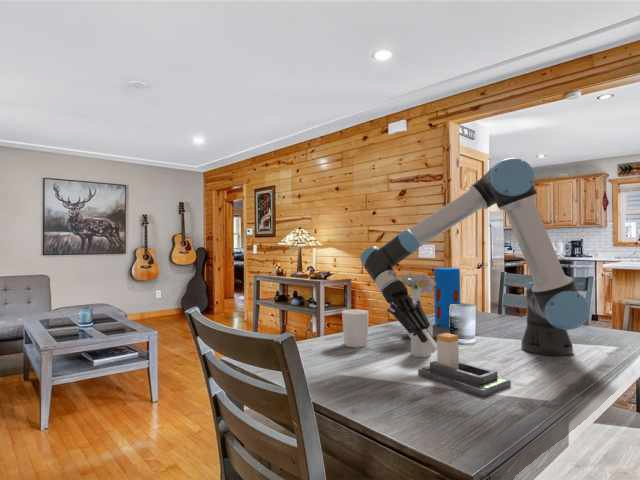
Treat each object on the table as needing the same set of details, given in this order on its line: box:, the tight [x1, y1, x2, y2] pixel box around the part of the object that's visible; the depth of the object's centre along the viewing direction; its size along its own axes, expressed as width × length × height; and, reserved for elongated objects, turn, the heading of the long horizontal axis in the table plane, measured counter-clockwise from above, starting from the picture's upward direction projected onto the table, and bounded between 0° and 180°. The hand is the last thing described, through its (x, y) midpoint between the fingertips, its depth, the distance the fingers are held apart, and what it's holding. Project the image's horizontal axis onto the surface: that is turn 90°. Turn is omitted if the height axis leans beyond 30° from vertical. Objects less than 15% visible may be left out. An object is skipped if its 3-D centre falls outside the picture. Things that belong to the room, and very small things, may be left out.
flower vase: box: [400, 272, 436, 339], centre depth 158 cm, size 13×18×25 cm
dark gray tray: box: [417, 360, 512, 398], centre depth 108 cm, size 20×12×4 cm, turn 35°
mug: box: [410, 316, 434, 358], centre depth 134 cm, size 10×7×12 cm, turn 131°
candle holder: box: [341, 308, 370, 349], centre depth 146 cm, size 10×10×12 cm
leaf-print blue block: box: [433, 267, 461, 329], centre depth 178 cm, size 11×11×25 cm
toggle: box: [436, 332, 460, 369], centre depth 112 cm, size 4×4×9 cm
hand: (434, 350), depth 115 cm, fingers closed
